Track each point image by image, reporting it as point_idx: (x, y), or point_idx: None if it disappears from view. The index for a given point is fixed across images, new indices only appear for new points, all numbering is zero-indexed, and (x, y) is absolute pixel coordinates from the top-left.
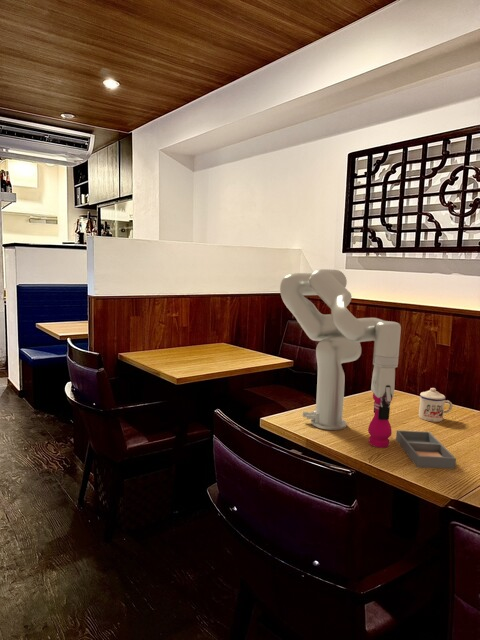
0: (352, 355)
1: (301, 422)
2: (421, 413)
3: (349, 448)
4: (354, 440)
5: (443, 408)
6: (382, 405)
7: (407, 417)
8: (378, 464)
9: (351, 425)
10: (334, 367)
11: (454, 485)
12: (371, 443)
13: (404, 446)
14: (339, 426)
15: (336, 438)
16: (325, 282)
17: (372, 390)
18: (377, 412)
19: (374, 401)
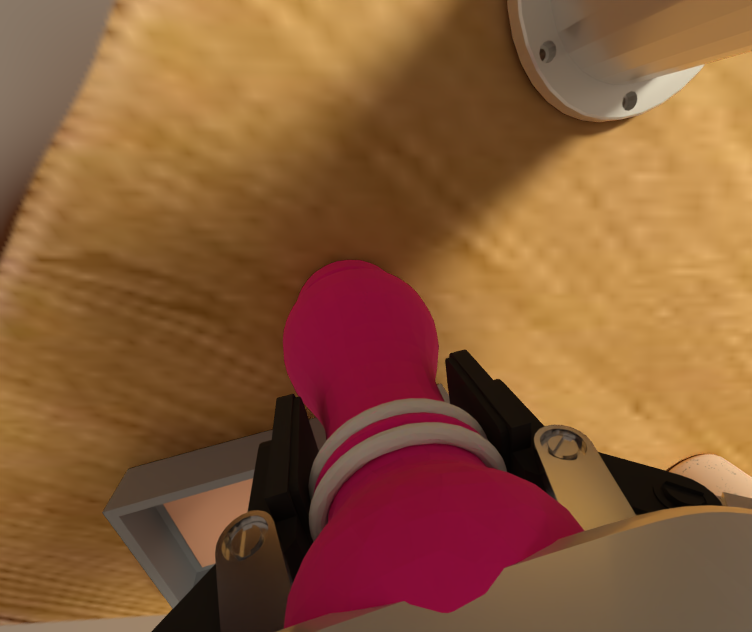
0: None
1: None
2: (704, 477)
3: (212, 134)
4: (366, 172)
5: None
6: (223, 569)
7: (700, 417)
8: (41, 310)
9: (606, 158)
10: None
11: (13, 579)
12: (313, 276)
13: (316, 429)
14: (550, 61)
15: (364, 36)
16: None
17: (624, 575)
18: (337, 410)
19: (524, 417)
